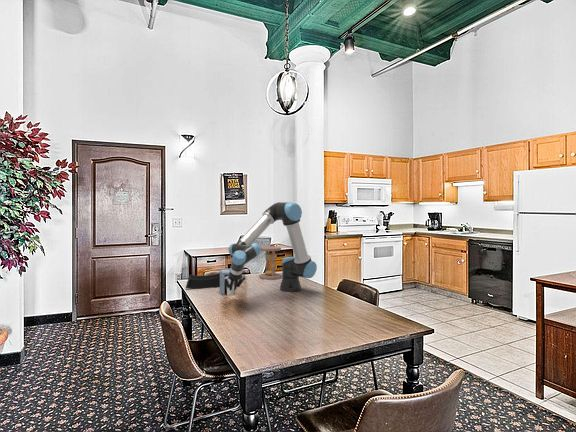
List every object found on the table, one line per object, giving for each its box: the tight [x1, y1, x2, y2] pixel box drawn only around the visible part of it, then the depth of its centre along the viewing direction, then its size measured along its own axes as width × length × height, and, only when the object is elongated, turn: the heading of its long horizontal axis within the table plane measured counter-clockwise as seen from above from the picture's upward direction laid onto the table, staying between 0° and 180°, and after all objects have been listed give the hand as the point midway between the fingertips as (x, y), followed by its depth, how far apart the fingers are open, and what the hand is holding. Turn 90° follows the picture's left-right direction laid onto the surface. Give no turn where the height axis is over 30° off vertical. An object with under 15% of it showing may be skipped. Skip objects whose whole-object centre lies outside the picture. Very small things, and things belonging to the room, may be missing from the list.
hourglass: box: [259, 245, 282, 281], centre depth 301 cm, size 18×18×25 cm
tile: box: [225, 275, 234, 296], centre depth 249 cm, size 13×4×12 cm, turn 18°
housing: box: [219, 268, 236, 296], centre depth 250 cm, size 14×8×14 cm, turn 18°
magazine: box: [185, 272, 220, 290], centre depth 263 cm, size 17×3×30 cm
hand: (231, 292), depth 233 cm, fingers closed
